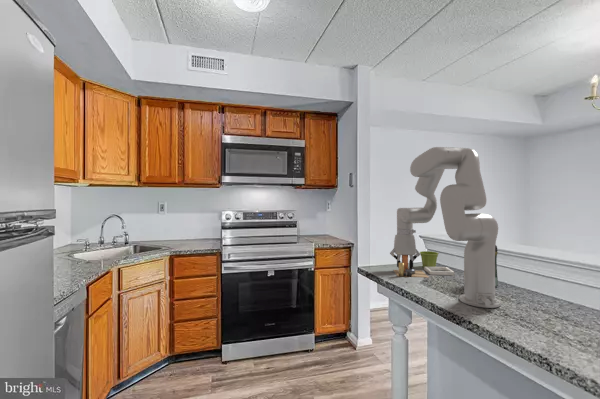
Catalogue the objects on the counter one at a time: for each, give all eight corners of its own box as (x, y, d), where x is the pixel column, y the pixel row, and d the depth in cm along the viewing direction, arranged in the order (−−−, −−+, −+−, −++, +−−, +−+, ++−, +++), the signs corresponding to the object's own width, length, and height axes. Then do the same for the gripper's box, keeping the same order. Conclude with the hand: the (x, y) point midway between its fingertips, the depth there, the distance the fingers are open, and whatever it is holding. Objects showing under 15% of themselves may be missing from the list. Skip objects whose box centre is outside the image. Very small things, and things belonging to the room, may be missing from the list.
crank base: (429, 279, 139) (429, 273, 139) (397, 278, 141) (397, 272, 141) (421, 272, 153) (421, 266, 153) (393, 271, 155) (392, 265, 155)
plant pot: (442, 269, 159) (442, 253, 159) (431, 271, 154) (431, 254, 154) (427, 266, 167) (427, 250, 167) (415, 268, 162) (415, 252, 162)
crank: (408, 271, 150) (408, 259, 150) (416, 272, 146) (416, 260, 146) (395, 275, 142) (395, 262, 142) (404, 276, 139) (404, 264, 139)
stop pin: (408, 271, 150) (408, 255, 150) (402, 271, 151) (402, 255, 151) (407, 270, 153) (407, 254, 153) (401, 270, 154) (401, 254, 154)
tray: (454, 277, 143) (454, 272, 143) (430, 276, 144) (430, 271, 144) (446, 271, 154) (446, 267, 154) (424, 271, 155) (424, 266, 155)
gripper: (420, 231, 155) (420, 267, 155) (386, 231, 157) (386, 266, 157) (424, 233, 147) (424, 270, 147) (388, 232, 150) (388, 269, 150)
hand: (405, 268), depth 152 cm, fingers open, 4 cm apart
